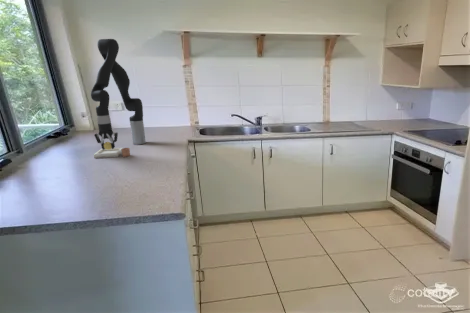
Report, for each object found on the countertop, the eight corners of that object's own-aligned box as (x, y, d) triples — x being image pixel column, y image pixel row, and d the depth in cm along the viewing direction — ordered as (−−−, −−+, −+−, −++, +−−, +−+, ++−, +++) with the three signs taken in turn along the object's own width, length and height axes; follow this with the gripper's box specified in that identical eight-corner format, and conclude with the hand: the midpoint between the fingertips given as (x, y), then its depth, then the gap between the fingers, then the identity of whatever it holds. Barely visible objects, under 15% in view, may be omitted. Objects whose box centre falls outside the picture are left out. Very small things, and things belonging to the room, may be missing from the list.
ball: (105, 148, 179) (104, 141, 178) (113, 148, 180) (112, 140, 179) (103, 150, 175) (102, 142, 173) (111, 150, 175) (110, 142, 174)
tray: (101, 152, 184) (101, 148, 184) (123, 151, 186) (123, 147, 185) (94, 158, 171) (93, 154, 170) (117, 156, 173) (117, 152, 172)
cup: (123, 155, 176) (122, 148, 175) (131, 154, 177) (130, 147, 175) (121, 157, 172) (120, 149, 170) (129, 156, 172) (128, 149, 171)
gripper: (117, 121, 177) (121, 146, 182) (94, 122, 175) (98, 148, 180) (114, 122, 170) (118, 149, 174) (90, 124, 168) (94, 151, 173)
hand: (108, 148), depth 177 cm, fingers closed on ball, 5 cm apart
